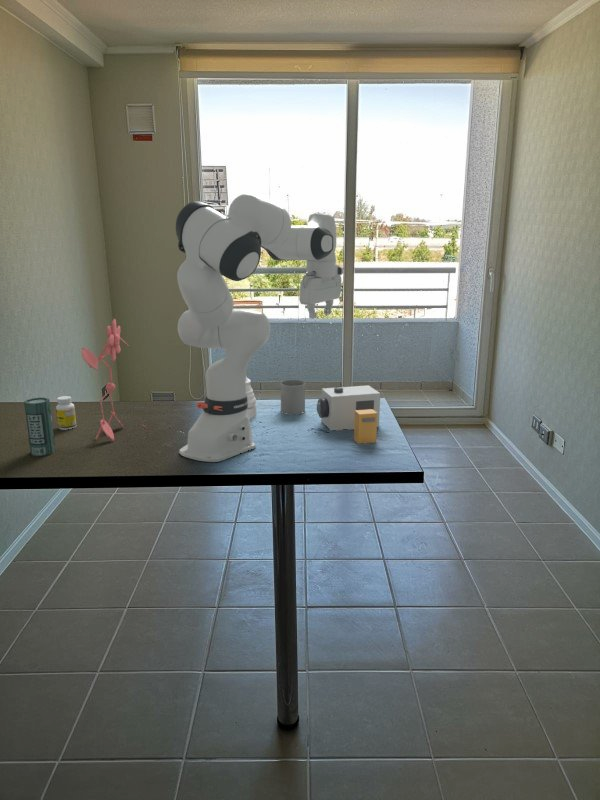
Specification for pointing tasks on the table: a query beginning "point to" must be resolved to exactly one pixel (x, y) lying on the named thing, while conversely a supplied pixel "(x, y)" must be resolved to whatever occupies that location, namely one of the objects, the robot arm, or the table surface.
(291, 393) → the cup
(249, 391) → the honey pot
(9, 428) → the table surface
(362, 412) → the tan box with label
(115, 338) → the figurine
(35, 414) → the can
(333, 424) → the camera housing
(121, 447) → the table surface
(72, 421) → the supplement bottle
